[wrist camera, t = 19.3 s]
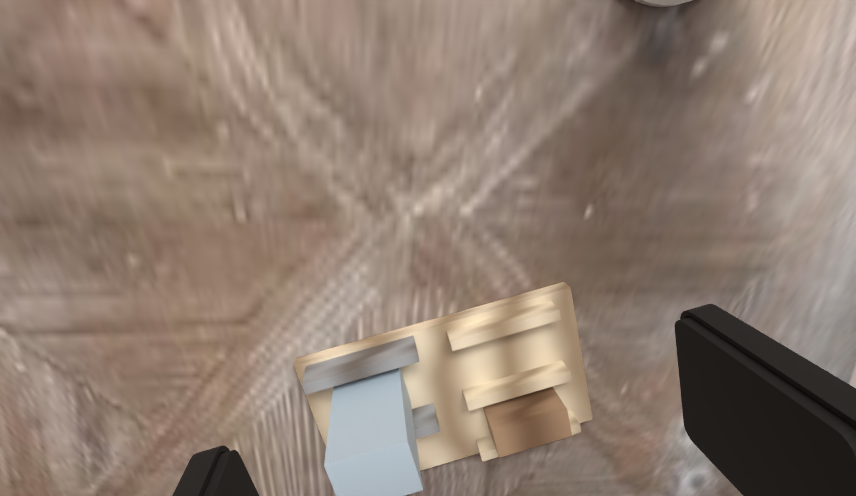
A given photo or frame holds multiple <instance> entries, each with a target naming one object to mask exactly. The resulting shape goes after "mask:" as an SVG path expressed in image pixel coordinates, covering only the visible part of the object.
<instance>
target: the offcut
mask: <svg viewBox="0 0 856 496" xmlns="http://www.w3.org/2000/svg"><path fill="white" fill-rule="evenodd" d="M483 409H484V413H485V417H486V421H487V425H488V429H489V432H490V434H491V437H492V440H493V443H494V445H495V448H496V451H497V453H498V456H499V458H500V457H503V456H507V455H510V454H513V453H517V452H520V451H523V450H527V449H530V448H534V447H537V446H540V445H544V444H547V443H550V442H554V441H557V440H560V439H564V438H567V437H570V436H572V432H571V427H570V421H569V416H568V411H567V408H566V407H565V405H564V404H563V402H562V400H561V399H560V397H559V396H558V394H557V393H556V391H555V390H554V388H553V386H552V387H549V388H545V389H542V390H539V391H535V392H532V393H528V394H525V395H522V396H518V397H515V398H511V399H508V400H505V401H501V402H498V403H494V404H491V405H488V406H484V407H483Z"/></svg>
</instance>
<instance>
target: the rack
mask: <svg viewBox="0 0 856 496" xmlns="http://www.w3.org/2000/svg"><path fill="white" fill-rule="evenodd" d="M294 368H295V370H296V373H297V375H298V378H299V380H300V383H301V385H302V388H303V390H304V393H305V395H306V398H307V401H308V403H309V406H310V408H311V411H312V413H313V416H314V418H315V421H316V423H317V426H318V428H319V431H320V433H321V436H322V438H323V441H324V443H325V446H326V445H327V437H328V429H329V420H330V412H331V403H332V395H333V387H334V386H337V385H341V384H344V383H348V382H351V381H355V380H358V379H362V378H365V377H369V376H372V375H376V374H379V373H382V372H386V371H389V370H393V369H396V368H401V371H402V374H403V378H404V381H405V384H406V387H407V391H408V394H409V397H410V401H411V408H412V415H413V422H414V429H415V436H416V443H417V450H418V457H419V464H420V471H421V470H424V469H428V468H431V467H434V466H438V465H441V464H445V463H448V462H451V461H455V460H458V459H461V458H465V457H468V456H471V455H475V454H478V453H480V456H481V459H482V462H483V461H486V460H489V459H493V458H496V457H499V456H498V453H497V451H496V448H495V445H494V443H493V440H492V437H491V434H490V432H489V429H488V425H487V421H486V417H485V413H484V409H483V407H484V406H488V405H491V404H494V403H498V402H501V401H505V400H508V399H511V398H515V397H518V396H522V395H525V394H528V393H532V392H535V391H539V390H542V389H545V388H549V387H552V386H553V388H554V390H555V391H556V393H557V394H558V396H559V397H560V399H561V400H562V402H563V404H564V405H565V407H566V408H567V411H568V416H569V421H570V427H571V432H572V435H573V434H577V433H580V432H581V428H580V423H582V422H586V421H589V420H592V419H593V418H592V412H591V406H590V400H589V394H588V388H587V382H586V376H585V370H584V364H583V358H582V353H581V347H580V341H579V335H578V329H577V323H576V317H575V311H574V305H573V299H572V293H571V288H570V287H569V286H568V285H567V284H566V283H565V282H561V283H558V284H554V285H551V286H547V287H544V288H540V289H537V290H533V291H530V292H526V293H523V294H519V295H516V296H512V297H509V298H505V299H502V300H498V301H495V302H491V303H488V304H484V305H481V306H477V307H474V308H470V309H467V310H463V311H460V312H456V313H453V314H449V315H446V316H442V317H439V318H435V319H432V320H428V321H425V322H421V323H418V324H414V325H411V326H407V327H404V328H400V329H397V330H393V331H390V332H386V333H383V334H379V335H376V336H372V337H369V338H365V339H362V340H358V341H355V342H351V343H348V344H344V345H341V346H337V347H334V348H330V349H327V350H323V351H320V352H316V353H313V354H309V355H306V356H302V357H299V358H296V362H295V365H294Z"/></svg>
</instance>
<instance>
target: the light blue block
mask: <svg viewBox="0 0 856 496" xmlns="http://www.w3.org/2000/svg"><path fill="white" fill-rule="evenodd" d="M324 467H325V469H326V472H327V474H328V477H329V479H330V482H331V484H332V487H333V489H334V492H335V494H336V496H405V495H408V494H412V493H415V492H419V491H422V490H423V485H422V478H421V471H420V464H419V457H418V450H417V443H416V436H415V429H414V422H413V415H412V408H411V401H410V397H409V394H408V391H407V387H406V384H405V381H404V378H403V374H402V371H401V368H396V369H393V370H389V371H386V372H382V373H379V374H376V375H372V376H369V377H365V378H362V379H358V380H355V381H351V382H348V383H344V384H341V385H337V386H334V387H333V395H332V403H331V412H330V420H329V429H328V437H327V445H326V454H325V462H324Z"/></svg>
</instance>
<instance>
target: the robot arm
mask: <svg viewBox="0 0 856 496" xmlns="http://www.w3.org/2000/svg"><path fill="white" fill-rule="evenodd" d="M634 1H636V2H638V3H642V4H645V5H648V6H655V7H668V6H675V5H679V4H683V3H686V2H689V1H692V0H634ZM675 335H676V345H677V356H678V367H679V377H680V388H681V399H682V409H683V420H684V427H685V429H686V432H687V434H688V436H689V437H690V439H691V440H692V442H693V443H694V444H695V445H696V446H697V447H698V448H699V449H700V450H701V451H702V452H703V453H704V454H705V456H706V457H707V458H708V459H709V460H710V461H711V462H712V463H713V464H714V465H715V466H716V467H717V468H718V469H719V470H720V471H721V472H722V473H723V475H724V476H725V477H726V478H727V479H728V480H729V481H730V482H731V483H732V484H733V485H734V486H735V487H736V488H737V489H738V490H739V491H740V492H741V494H742V495H743V496H856V388H854V387H852V386H851V385H849V384H847V383H846V382H844V381H842V380H840V379H839V378H837V377H835V376H834V375H832V374H830V373H829V372H827V371H825V370H824V369H822V368H820V367H819V366H817V365H815V364H814V363H812V362H810V361H808V360H807V359H805V358H803V357H802V356H800V355H798V354H797V353H795V352H793V351H792V350H790V349H788V348H787V347H785V346H783V345H782V344H780V343H778V342H776V341H775V340H773V339H771V338H770V337H768V336H766V335H765V334H763V333H761V332H760V331H758V330H756V329H755V328H753V327H751V326H750V325H748V324H746V323H744V322H743V321H741V320H739V319H738V318H736V317H734V316H733V315H731V314H729V313H728V312H726V311H724V310H723V309H721V308H719V307H717V306H716V305H713V304H707V305H704V306H700V307H697V308H694V309H690V310H687V311H684V312H683V313H682V314H681V317H680V320H678V321H677V322H676V323H675ZM173 496H259V495H258V492H257V490H256V488H255V486H254V484H253V482H252V480H251V478H250V475H249V473H248V471H247V469H246V467H245V465H244V463H243V461H242V459H241V456H240V455H239V453H238V452H237V451H236V450H232V451H230V450H229V449H228V448H227V447H226V446H219V447H216V448H213V449H209V450H206V451H202V452H199V453H196V454H194V455H193V456H192V458H191V459H190V461H189V463H188V465H187V467H186V469H185V471H184V473H183V475H182V477H181V479H180V481H179V483H178V486H177V488H176V490H175V492H174V494H173Z"/></svg>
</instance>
